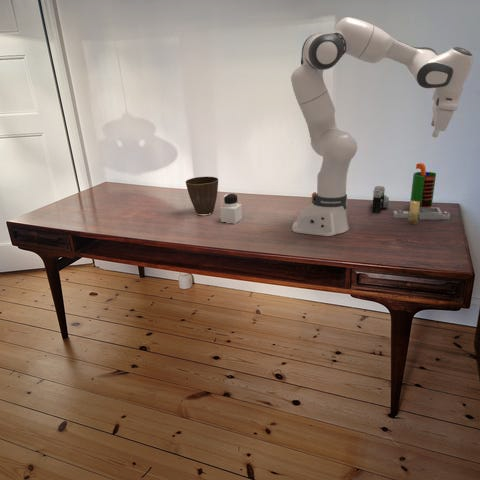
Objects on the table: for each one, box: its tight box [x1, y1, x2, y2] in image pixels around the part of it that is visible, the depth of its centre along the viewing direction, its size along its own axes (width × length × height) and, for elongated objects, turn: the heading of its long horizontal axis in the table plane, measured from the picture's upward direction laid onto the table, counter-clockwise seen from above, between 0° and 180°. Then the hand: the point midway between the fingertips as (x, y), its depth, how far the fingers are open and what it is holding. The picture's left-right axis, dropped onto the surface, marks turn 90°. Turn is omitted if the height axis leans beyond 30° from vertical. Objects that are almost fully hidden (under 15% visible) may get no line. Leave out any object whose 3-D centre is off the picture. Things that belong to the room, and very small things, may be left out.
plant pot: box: [185, 176, 219, 215], centre depth 196 cm, size 15×15×16 cm
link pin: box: [407, 200, 420, 225], centre depth 170 cm, size 4×4×9 cm
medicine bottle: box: [219, 193, 243, 224], centre depth 184 cm, size 7×7×12 cm
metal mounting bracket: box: [393, 206, 451, 222], centre depth 177 cm, size 22×8×3 cm, turn 74°
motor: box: [410, 162, 437, 207], centre depth 185 cm, size 10×9×20 cm
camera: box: [371, 185, 390, 215], centre depth 189 cm, size 15×7×10 cm, turn 161°
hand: (433, 130), depth 162 cm, fingers open, 8 cm apart
